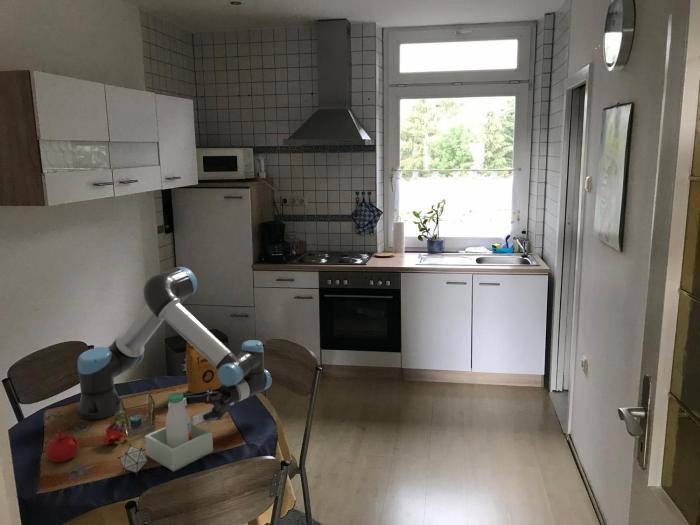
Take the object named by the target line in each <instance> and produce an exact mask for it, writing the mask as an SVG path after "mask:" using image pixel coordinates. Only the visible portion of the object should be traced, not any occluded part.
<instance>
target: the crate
mask: <svg viewBox="0 0 700 525" xmlns="http://www.w3.org/2000/svg"><path fill="white" fill-rule="evenodd" d="M190 423H191V433H192V440H190V441H188V442H186V443H184V444H182V445H180V446H178V447H176V448H171V447H169V446H168V445H167V434H166V426H164V427H162V428H160V429H157V430H155V431H153V432H151V433H148V434H147V435H145V436H144V439H145V447H146V448H145V451H146V457H149V458H150V459H152V460H153V461H155V462H157V463H159V464H160V465H162V466H164V467H165V468H168V469H169V470H170V471H171V472H173V473H174V472H175V471H178V470H180V469H182V468H184V467H186V466H189V464H191V463H194V462H196V461H197V460H199V459H202V458H204V457H206V456H207V455H210V454H211V453H213V452H214V441H213V431H211V430H210V429H208V428H205V427H204V426H201V425H199V424H196V425H193V421H191V420H190Z"/></svg>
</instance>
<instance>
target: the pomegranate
mask: <svg viewBox="0 0 700 525" xmlns="http://www.w3.org/2000/svg"><path fill="white" fill-rule="evenodd" d="M66 433H67V434H66ZM53 435H55V436H54V437H53V438H50V439H48V440H47V442H48V443H47V444H46V445H45V454H46V457H47V459H48V460H49V461H51V462H53V463H55V462H56V463H64V461H65V462H68V461H70V460H72V459H73V458H75V456H76V455H78V453H79V448H80V447H79V441H78V439H77V438H76V437H75V436H74V434H73V433H69V431H64V433H62V431H61V430H57V433H53ZM69 459H70V460H69Z"/></svg>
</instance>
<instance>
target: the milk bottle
mask: <svg viewBox="0 0 700 525" xmlns="http://www.w3.org/2000/svg"><path fill="white" fill-rule="evenodd" d="M167 398H168V399H167V400H168V404H170V406H169V409H168V411H167V413H166V416H165V427H166V434H167V445H168V446H169V447H171V448H176V447H178V446H180V445H182V444H184V443H186V442H188V441H190V440H192V433H191V423H190V421H191V417H190V413H189V411H188V410H187V408H186V406H184V404H183V401H184V400H183V392H182V393H181V392H172V393H170V394H169V395H168V396H167Z"/></svg>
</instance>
